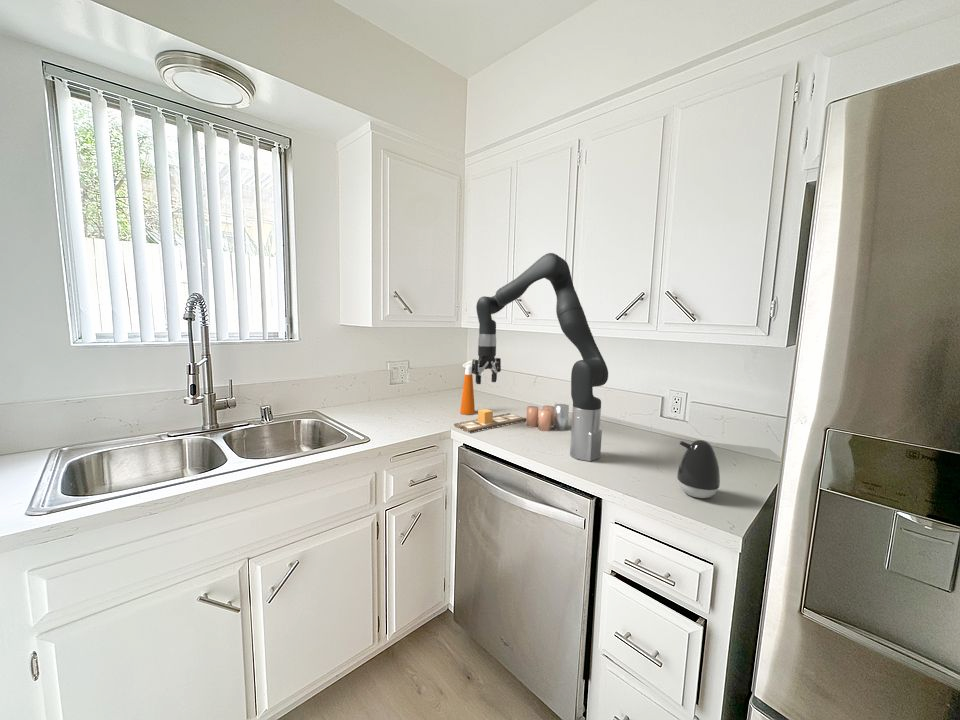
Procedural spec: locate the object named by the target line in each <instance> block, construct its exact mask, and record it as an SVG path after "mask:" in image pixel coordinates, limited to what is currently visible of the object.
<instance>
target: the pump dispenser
mask: <svg viewBox="0 0 960 720" xmlns="http://www.w3.org/2000/svg"><path fill="white" fill-rule="evenodd" d="M679 445H680V446H682V447H684V448H686V450H685V451H684V453H683V455H682V457H681V460H680V462H679V465H678V470H677V473H676V478H677V480H678V485H679V487H680V489H681V490H682V491H683V492H684V493H685V494H686V495H689V496H690V497H693V498H696V499H709V498H711V497H713V496H714V495H715V494H716V493H717V491H718V490H719V488H720V486H721V474H720V473H721V471H720V466H719V461H718V458H717V455H716V452H715V450H714V448H713V446H712V445H711V444H710V442H707V441H706V440H702V439H697V440H694V441H692V442H691V443H687V442H685V441H684V440H683V441H682V440H680V442H679Z"/></svg>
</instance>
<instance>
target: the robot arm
mask: <svg viewBox="0 0 960 720" xmlns="http://www.w3.org/2000/svg"><path fill="white" fill-rule="evenodd" d="M542 279H546V280H547V281H549V282H550V283H551V284H550V285H552V288H553V290H554V293H555V296H556V308H555V309H556V316H557V317H556V318H557V319H558V323H559V326H560V329H561V332H562V333H563V334H564V336H566V338H567V339H568V340H569V342H571V344H573V345H574V346H575V348H576V349H577V350H578V351H579V354H580V356H581V357H582V360H577V361H576V362H574V364H573V365H572V368H571V373H570V374H571V376H570V380H571V381H570V383H571V384H570V395H571V396H570V397H571V400H572V413H571V429H570V447H569V449H570V450H569V455H570V456H571V458H574V459H576V460H580V461H586V462H587V461H588V462H593V461H595V460H597V459H600V458H601V453H602V452H601V450H602V438H603V437H602V435H603V430H602V429H600V427H601V413H602V400H601V398H599V397H596V396H595V395H594V393H593V388H597V387H601V386H604V385H605V384H606V383H608V382H607V381H608V380H609V369H608V366H607V364H606V361H605V360H604V357H603V356H602V353H601V351H600V350H599V347H598V346H597V342H596V341H595V339H594V335H593V333H592V331H591V328H590V326H589V324H588V320H587V317H586V314H585V310H584V309H583V306H582V304H581V302H580V299H579V296H578V294H577V291H576V289H575V286H574V283H573V278H572V275H571V271H570V267H569V264H568V262H567V261H566V259H564V258H562V256H559V255H558V254H556V253H553V252H548V253H546V254H544V255H542V256H540V257H539V258H538V259H537V260H536V261H534V263H532V265H530V266H529V267H528V268H527V269H525V270H524V271H523V272H522V273H521V274H520V275H519V276H517V277H515V279H513V280H511V281H510V282H508V283H507V284H504V285H503V286H502V287H500V288H499V289H498V290H496V292H495V295H492V296H481V297H479V298H478V300H477V302H476V307H475V309H476V314H477V319H478V325H479V327H478V328H479V330H478V331H479V332H478V343H477V344H478V345H477V356H478V360H476V359H477V358H476V359H475V358H473V359H472V375H474V376H475V384H476V385H481V384H482V374H481V373H483V372H484V371H485V370H490V371H491V378H490V379H491V383H496V382H497V380H498V379H497V378H498V377H497V376H498V373H500V372H502V369H501V367H502V365H501V363H502V361H501V358H499V357H496V356H497V355H496V354H497V322H496V321H495V320H494V319H493V318H492V315H493V314H496V313H499V312H500V311H502V310H503V309H504V308H505V307H506V306H507V305H509V304H510V303H512V302H514V301H516V300H518V299H519V298H521V297H522V295H523V294H525V293H526V292H527V289H528V288H529V287H530V286H531V285H533V284H534V283H535V282H538V281H540V280H542ZM478 364H479V365H478Z"/></svg>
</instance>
